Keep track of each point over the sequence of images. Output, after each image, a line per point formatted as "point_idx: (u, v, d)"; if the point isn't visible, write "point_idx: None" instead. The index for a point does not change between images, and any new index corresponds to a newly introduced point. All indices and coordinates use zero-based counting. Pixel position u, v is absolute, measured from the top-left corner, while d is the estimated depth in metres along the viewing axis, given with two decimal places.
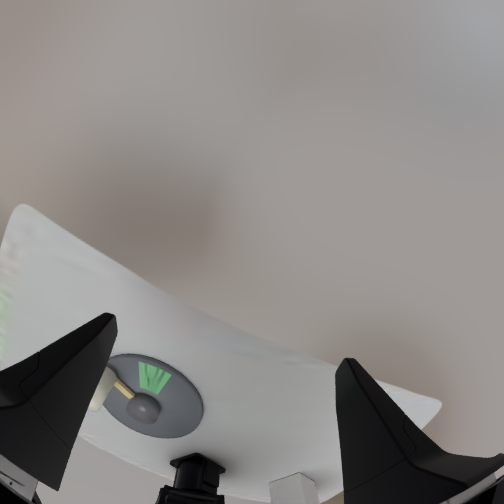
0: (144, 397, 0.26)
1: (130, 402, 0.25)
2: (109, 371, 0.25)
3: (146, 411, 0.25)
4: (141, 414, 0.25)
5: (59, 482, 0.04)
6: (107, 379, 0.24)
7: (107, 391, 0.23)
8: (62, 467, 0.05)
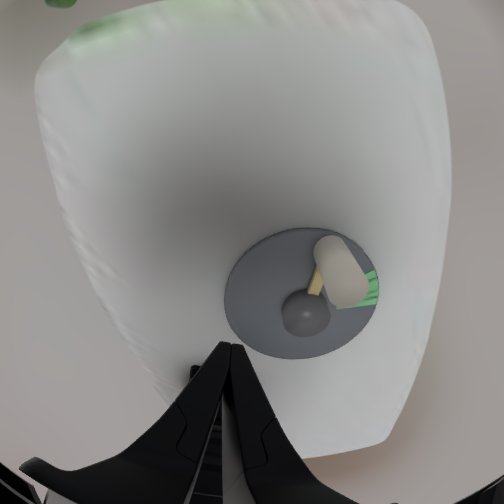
0: (327, 304, 0.22)
1: (316, 301, 0.21)
2: None
3: (317, 322, 0.22)
4: (305, 321, 0.22)
5: None
6: None
7: None
8: None
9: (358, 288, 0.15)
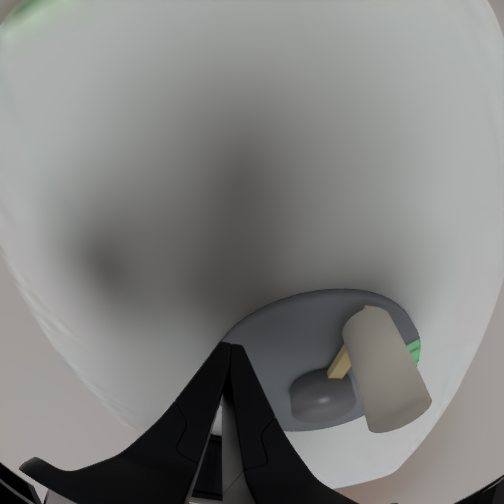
0: (352, 385, 0.14)
1: (340, 390, 0.13)
2: None
3: (337, 409, 0.14)
4: (321, 409, 0.14)
5: None
6: None
7: None
8: None
9: (414, 411, 0.07)
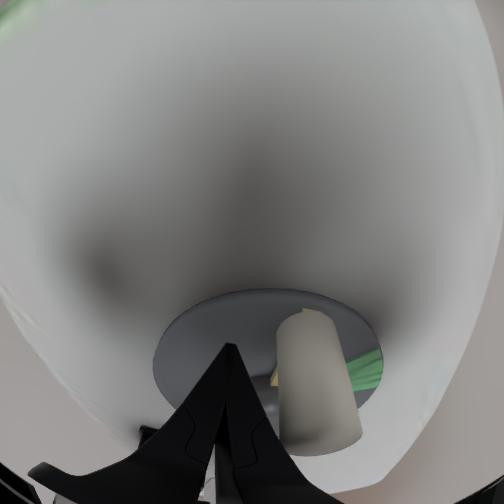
0: None
1: None
2: None
3: None
4: None
5: None
6: None
7: None
8: None
9: (340, 439, 0.06)
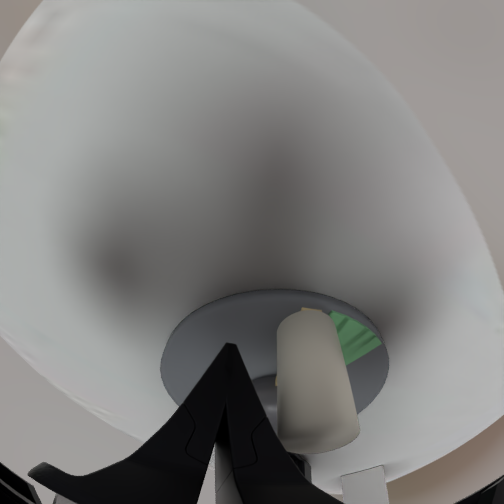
0: None
1: None
2: None
3: None
4: (272, 418, 0.13)
5: None
6: None
7: None
8: None
9: (337, 436, 0.07)
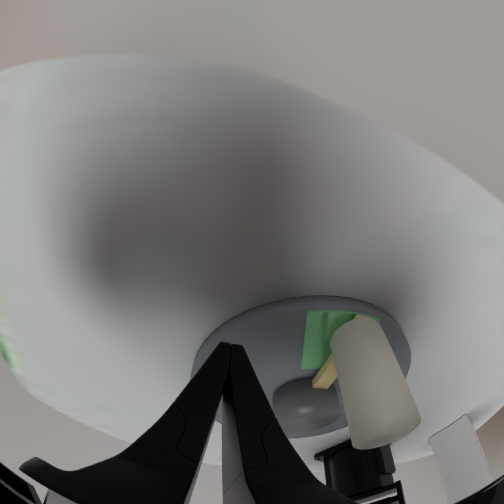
0: (337, 396, 0.14)
1: (324, 401, 0.13)
2: None
3: (321, 419, 0.13)
4: (304, 419, 0.13)
5: None
6: None
7: None
8: None
9: (402, 429, 0.07)
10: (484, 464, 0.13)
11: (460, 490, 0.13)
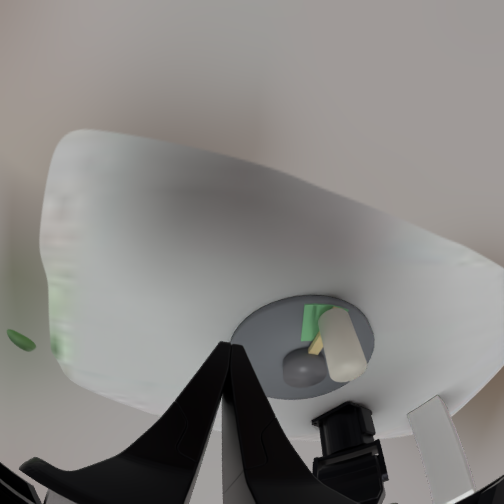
0: (324, 361, 0.23)
1: (316, 361, 0.21)
2: None
3: (314, 376, 0.22)
4: (303, 376, 0.22)
5: None
6: None
7: None
8: None
9: (357, 368, 0.16)
10: (454, 437, 0.22)
11: (434, 459, 0.22)
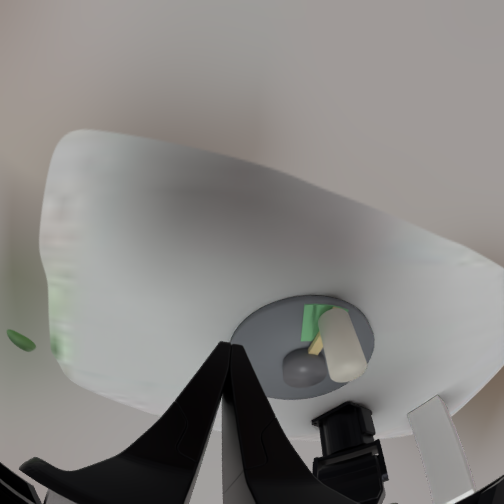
0: (324, 361, 0.23)
1: (315, 362, 0.21)
2: None
3: (314, 377, 0.22)
4: (303, 376, 0.22)
5: None
6: None
7: None
8: None
9: (357, 369, 0.16)
10: (454, 437, 0.22)
11: (434, 459, 0.22)
